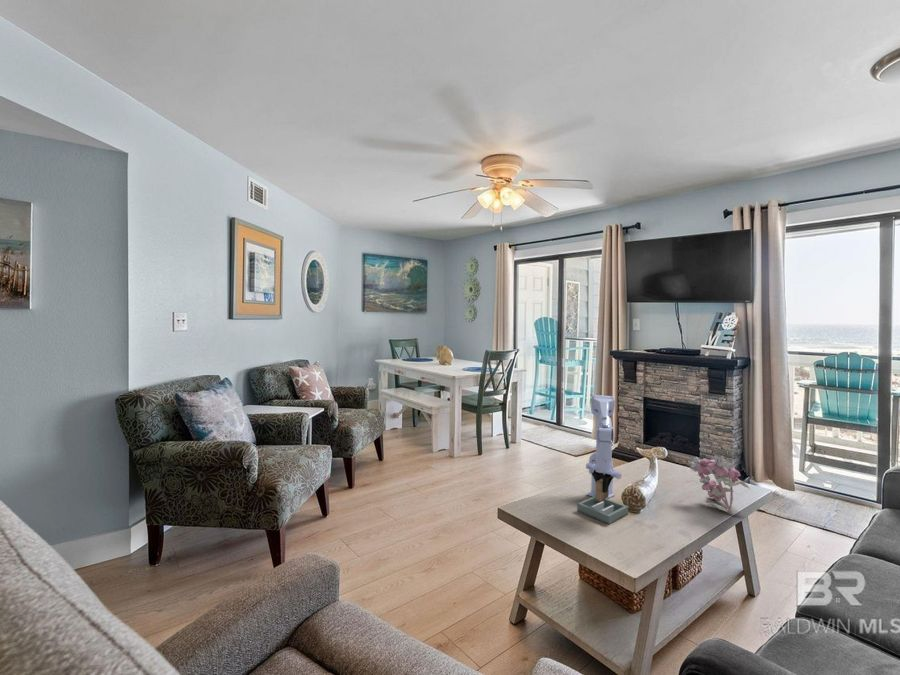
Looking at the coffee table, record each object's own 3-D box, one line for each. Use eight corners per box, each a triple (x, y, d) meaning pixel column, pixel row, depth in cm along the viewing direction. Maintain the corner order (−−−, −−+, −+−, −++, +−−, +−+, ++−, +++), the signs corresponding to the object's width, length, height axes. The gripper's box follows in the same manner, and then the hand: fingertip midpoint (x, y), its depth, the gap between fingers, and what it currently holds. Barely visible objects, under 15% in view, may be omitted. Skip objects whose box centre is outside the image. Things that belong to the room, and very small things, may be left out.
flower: (769, 509, 179) (746, 449, 188) (743, 516, 167) (720, 451, 176) (721, 513, 194) (702, 456, 203) (694, 520, 182) (675, 459, 191)
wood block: (603, 495, 179) (604, 477, 178) (608, 497, 178) (608, 479, 177) (595, 499, 175) (596, 481, 175) (600, 501, 174) (600, 482, 173)
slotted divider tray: (596, 502, 186) (596, 494, 186) (627, 514, 176) (628, 506, 175) (577, 511, 177) (577, 503, 177) (609, 524, 167) (609, 516, 166)
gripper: (582, 454, 178) (580, 487, 179) (615, 464, 167) (613, 499, 168) (592, 451, 183) (590, 483, 184) (624, 461, 172) (623, 495, 172)
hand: (602, 490), depth 176 cm, fingers closed on wood block, 2 cm apart
